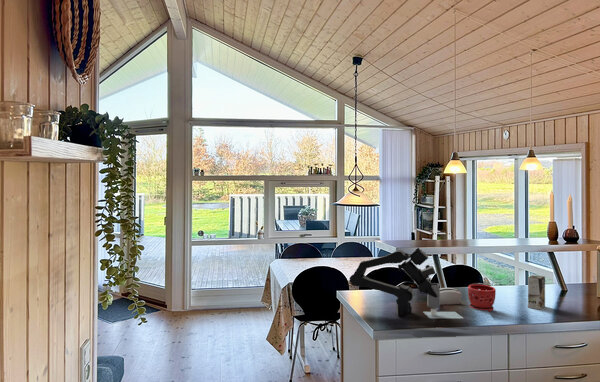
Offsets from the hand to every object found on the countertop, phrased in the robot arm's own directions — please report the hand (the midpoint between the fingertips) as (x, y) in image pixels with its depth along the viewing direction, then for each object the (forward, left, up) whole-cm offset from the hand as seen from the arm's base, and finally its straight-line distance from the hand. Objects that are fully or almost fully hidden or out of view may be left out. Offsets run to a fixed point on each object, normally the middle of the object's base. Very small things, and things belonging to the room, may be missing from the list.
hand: (436, 295), depth 202 cm
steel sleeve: (-1, 0, -5) cm, 5 cm away
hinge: (+14, +27, -11) cm, 32 cm away
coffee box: (+60, +20, -11) cm, 65 cm away
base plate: (+3, 0, -11) cm, 11 cm away
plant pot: (+28, +14, -11) cm, 34 cm away
